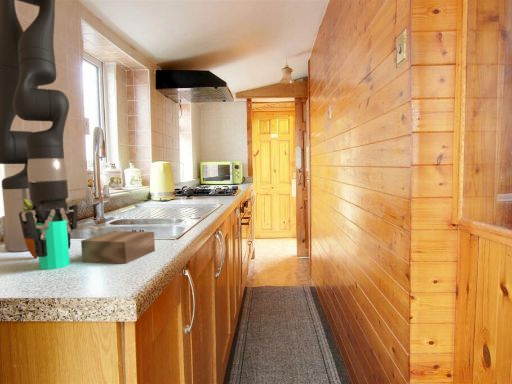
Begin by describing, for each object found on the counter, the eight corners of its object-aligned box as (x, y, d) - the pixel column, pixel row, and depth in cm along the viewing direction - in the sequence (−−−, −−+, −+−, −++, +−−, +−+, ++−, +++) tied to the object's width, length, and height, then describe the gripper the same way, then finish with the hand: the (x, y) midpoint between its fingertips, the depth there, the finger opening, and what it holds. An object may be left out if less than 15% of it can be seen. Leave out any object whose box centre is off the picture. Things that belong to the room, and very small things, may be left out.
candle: (48, 262, 82) (43, 212, 81) (74, 261, 83) (70, 211, 82) (34, 270, 76) (29, 216, 75) (62, 268, 77) (58, 215, 76)
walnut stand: (82, 261, 82) (81, 240, 82) (115, 249, 94) (114, 231, 93) (126, 263, 79) (124, 241, 79) (154, 250, 90) (153, 231, 90)
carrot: (52, 256, 89) (47, 197, 88) (34, 261, 84) (28, 199, 83) (37, 255, 90) (33, 197, 89) (19, 260, 86) (14, 199, 84)
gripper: (60, 178, 86) (65, 245, 87) (4, 181, 72) (11, 260, 73) (85, 177, 84) (90, 246, 85) (33, 180, 70) (39, 262, 71)
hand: (54, 252), depth 79 cm, fingers open, 5 cm apart
